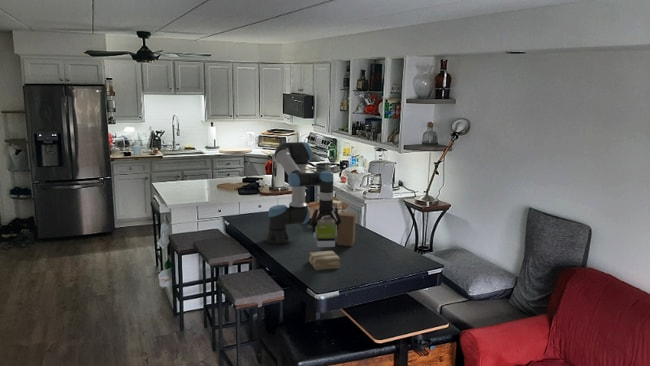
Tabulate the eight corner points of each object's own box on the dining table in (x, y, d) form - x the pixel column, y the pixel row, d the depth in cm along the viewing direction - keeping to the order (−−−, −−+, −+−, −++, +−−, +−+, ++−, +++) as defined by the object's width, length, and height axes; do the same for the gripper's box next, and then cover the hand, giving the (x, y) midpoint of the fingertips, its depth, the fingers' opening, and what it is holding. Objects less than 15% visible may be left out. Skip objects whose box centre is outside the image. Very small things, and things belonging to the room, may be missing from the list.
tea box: (315, 239, 292) (315, 214, 289) (332, 239, 293) (333, 214, 290) (317, 247, 277) (317, 221, 274) (335, 247, 278) (336, 221, 275)
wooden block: (352, 246, 321) (353, 216, 317) (337, 245, 323) (338, 215, 319) (354, 241, 331) (355, 212, 327) (339, 240, 333) (340, 211, 329)
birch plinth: (309, 262, 292) (309, 252, 291) (332, 260, 296) (332, 250, 295) (315, 270, 279) (316, 260, 278) (339, 268, 283) (340, 258, 282)
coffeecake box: (341, 227, 363) (342, 201, 359) (336, 229, 357) (337, 203, 353) (323, 224, 370) (324, 198, 367) (318, 226, 364) (319, 200, 361)
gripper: (309, 202, 272) (308, 240, 276) (348, 199, 282) (346, 236, 286) (303, 199, 278) (303, 237, 282) (342, 196, 289) (340, 232, 293)
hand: (325, 236), depth 284 cm, fingers closed on tea box, 12 cm apart
